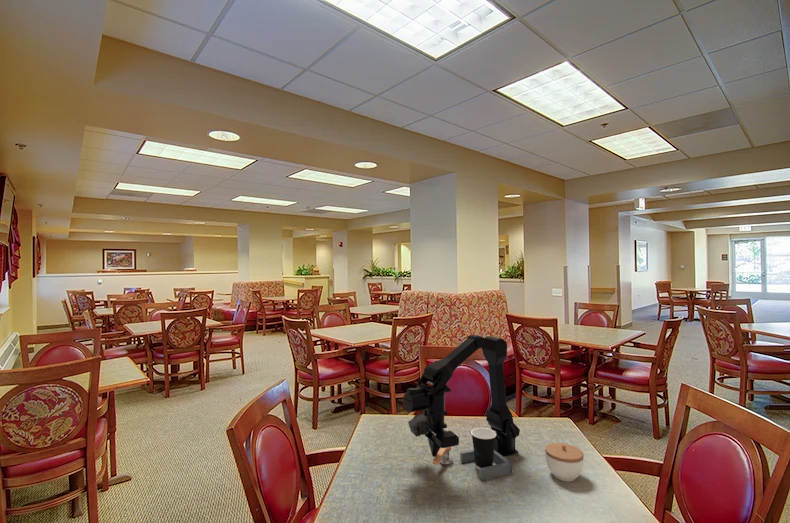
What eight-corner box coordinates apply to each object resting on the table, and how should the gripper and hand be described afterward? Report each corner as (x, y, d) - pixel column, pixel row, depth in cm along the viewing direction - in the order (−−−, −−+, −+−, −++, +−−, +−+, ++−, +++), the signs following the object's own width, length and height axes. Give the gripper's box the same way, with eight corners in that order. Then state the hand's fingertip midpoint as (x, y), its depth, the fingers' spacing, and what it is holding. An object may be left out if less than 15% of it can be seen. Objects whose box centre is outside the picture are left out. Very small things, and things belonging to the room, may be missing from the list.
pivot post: (448, 456, 132) (448, 445, 132) (455, 463, 127) (455, 452, 127) (435, 458, 130) (435, 447, 130) (442, 466, 126) (442, 454, 126)
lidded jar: (581, 470, 122) (581, 440, 123) (586, 488, 112) (585, 455, 112) (544, 464, 126) (544, 435, 126) (546, 482, 116) (545, 450, 116)
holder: (489, 455, 132) (489, 446, 132) (512, 473, 121) (512, 463, 121) (460, 461, 129) (460, 451, 129) (481, 480, 117) (481, 470, 117)
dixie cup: (467, 469, 123) (467, 434, 123) (476, 459, 130) (475, 425, 130) (492, 476, 119) (492, 440, 119) (499, 465, 126) (499, 430, 126)
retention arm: (441, 445, 131) (441, 441, 131) (452, 447, 130) (452, 443, 130) (429, 463, 119) (429, 459, 119) (441, 465, 118) (441, 461, 118)
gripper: (399, 399, 127) (398, 447, 127) (427, 422, 110) (425, 477, 110) (429, 395, 132) (428, 441, 132) (460, 416, 115) (459, 469, 115)
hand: (434, 456), depth 122 cm, fingers closed, pressing on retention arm
